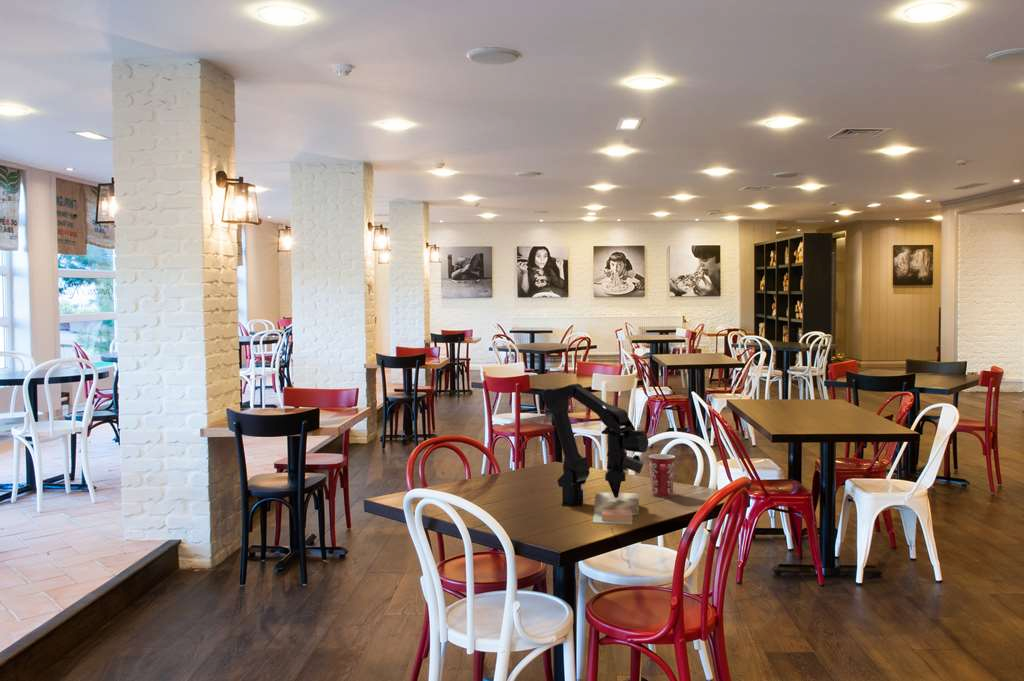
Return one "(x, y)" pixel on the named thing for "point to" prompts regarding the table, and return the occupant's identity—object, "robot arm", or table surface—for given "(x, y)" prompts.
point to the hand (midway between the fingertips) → (616, 497)
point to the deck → (617, 502)
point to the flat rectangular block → (616, 515)
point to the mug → (662, 474)
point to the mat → (598, 519)
